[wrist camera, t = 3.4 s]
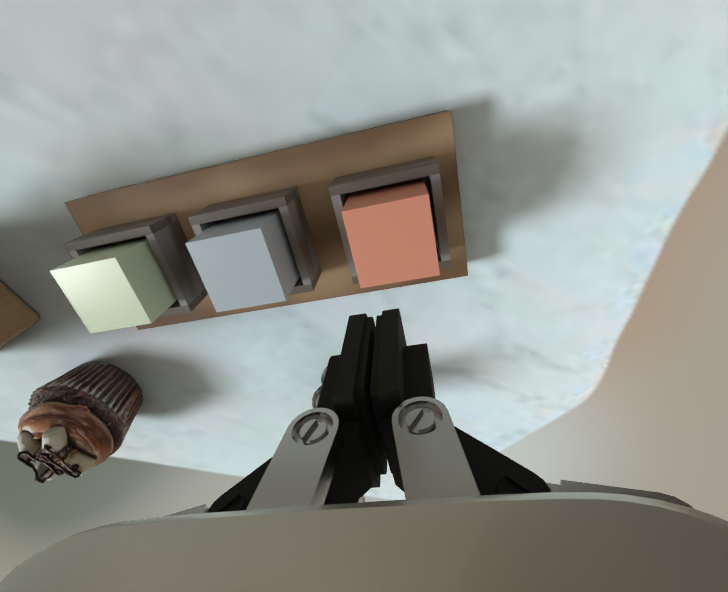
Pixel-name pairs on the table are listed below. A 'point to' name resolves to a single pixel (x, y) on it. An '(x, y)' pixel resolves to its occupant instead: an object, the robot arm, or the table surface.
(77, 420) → the cupcake
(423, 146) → the console
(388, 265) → the red key
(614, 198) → the table surface
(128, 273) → the sage key
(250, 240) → the slate key
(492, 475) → the robot arm
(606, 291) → the table surface
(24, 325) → the wooden block
